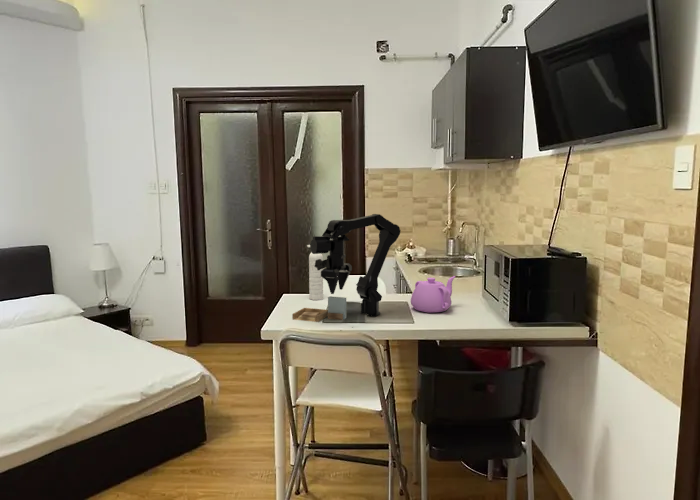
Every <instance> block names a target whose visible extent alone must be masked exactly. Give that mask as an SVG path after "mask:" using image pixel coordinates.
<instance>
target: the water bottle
mask: <svg viewBox="0 0 700 500" xmlns="http://www.w3.org/2000/svg"><path fill="white" fill-rule="evenodd" d="M306 247H307V248H310V244H306ZM318 259H321V260H322V261H323V260H324V256H323V253H322V254H313V253H312V252H311V251H310V254H309V256H308V264H309V265H308V269H309V270H308V271H309V274H308V276H309V278H308V281H309V282H308V288H309V292H308V293H309V295H308V296H309V297H308V298H309V300H312V301H319V300H320V301H322V300H323V299H324V279H323V278H322V277H321V271H322V270H323V269H324V268H323V269H320V270H317V268H316V267H315V261H316V260H318Z"/></svg>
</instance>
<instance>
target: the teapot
mask: <svg viewBox="0 0 700 500" xmlns="http://www.w3.org/2000/svg"><path fill="white" fill-rule="evenodd" d="M455 278H456V276H455V275H453V276H451V277H449V278H448V279H447V282H446V285H445V283H443V282H441V281H437V280H436V277H426V279H427V280H417V281H416V282H415V285H414V290H413V291H412V294H411V296H410V305H411V306H412V307H413V308H414V309H415V310H416V311H420V312H425V313H428V314H432V313H441V312H445V311H447V310H448V309H449V308H450V307H451V306H452V299H451V297H452V294H453V280H454V279H455Z"/></svg>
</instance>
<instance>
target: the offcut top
mask: <svg viewBox="0 0 700 500" xmlns="http://www.w3.org/2000/svg"><path fill="white" fill-rule="evenodd" d="M317 315H319V313H318V312H304V313H303V314H301V317H311V318H316V316H317Z"/></svg>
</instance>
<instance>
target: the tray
mask: <svg viewBox="0 0 700 500" xmlns="http://www.w3.org/2000/svg"><path fill="white" fill-rule="evenodd" d="M304 312H318V313H319V315H317V316H316V320H305V319H299V316H301V314H303V313H304ZM326 318H328V309H326V308H325V309H324V308H311V307H303V308H301V309H300V310H297V311H295V312H294V313H292V320H294V321H303V322H312V323H313V322H314V323H319V322H321V321H323V320H324V319H326Z"/></svg>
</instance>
